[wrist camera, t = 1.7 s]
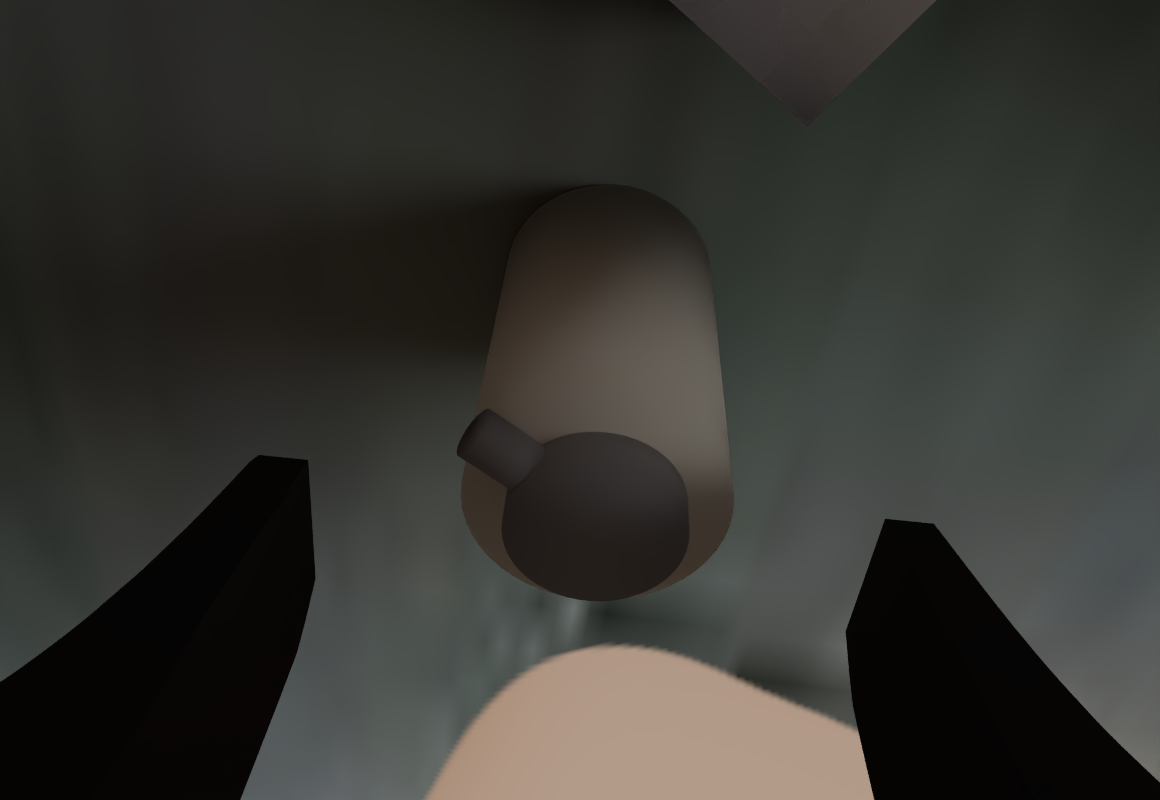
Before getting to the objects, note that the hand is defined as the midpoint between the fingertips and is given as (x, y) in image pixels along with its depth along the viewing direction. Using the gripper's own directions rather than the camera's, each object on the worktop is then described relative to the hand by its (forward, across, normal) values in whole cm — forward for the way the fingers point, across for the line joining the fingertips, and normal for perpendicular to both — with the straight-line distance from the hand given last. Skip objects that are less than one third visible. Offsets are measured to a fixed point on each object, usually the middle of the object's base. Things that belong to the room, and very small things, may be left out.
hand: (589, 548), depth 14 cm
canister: (+7, 0, 0) cm, 7 cm away
